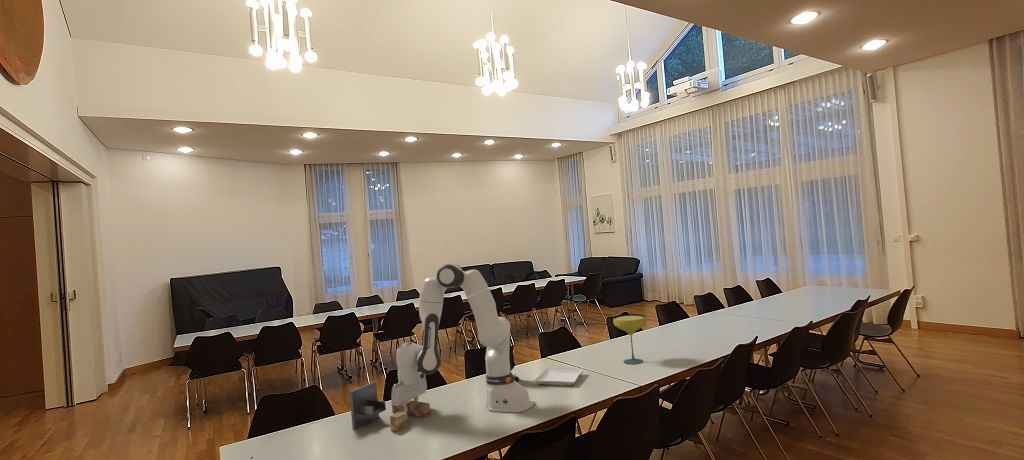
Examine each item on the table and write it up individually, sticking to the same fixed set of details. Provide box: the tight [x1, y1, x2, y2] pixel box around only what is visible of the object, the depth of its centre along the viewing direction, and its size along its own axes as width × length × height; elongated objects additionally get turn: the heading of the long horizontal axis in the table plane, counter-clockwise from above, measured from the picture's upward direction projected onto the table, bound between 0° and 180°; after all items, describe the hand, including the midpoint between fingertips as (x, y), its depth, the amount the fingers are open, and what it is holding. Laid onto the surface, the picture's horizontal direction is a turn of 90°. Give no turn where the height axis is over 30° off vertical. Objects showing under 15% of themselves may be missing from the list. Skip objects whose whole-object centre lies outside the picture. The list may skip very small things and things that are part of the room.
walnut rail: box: [391, 399, 431, 418], centre depth 219 cm, size 20×4×5 cm, turn 57°
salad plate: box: [534, 368, 585, 386], centre depth 248 cm, size 21×21×3 cm
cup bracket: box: [349, 381, 387, 430], centre depth 210 cm, size 10×14×16 cm
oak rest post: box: [389, 411, 409, 433], centre depth 202 cm, size 4×6×6 cm, turn 150°
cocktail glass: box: [612, 313, 647, 365], centre depth 269 cm, size 18×18×25 cm
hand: (410, 408), depth 219 cm, fingers closed on walnut rail, 4 cm apart
